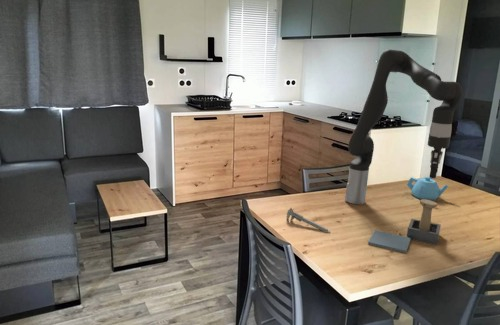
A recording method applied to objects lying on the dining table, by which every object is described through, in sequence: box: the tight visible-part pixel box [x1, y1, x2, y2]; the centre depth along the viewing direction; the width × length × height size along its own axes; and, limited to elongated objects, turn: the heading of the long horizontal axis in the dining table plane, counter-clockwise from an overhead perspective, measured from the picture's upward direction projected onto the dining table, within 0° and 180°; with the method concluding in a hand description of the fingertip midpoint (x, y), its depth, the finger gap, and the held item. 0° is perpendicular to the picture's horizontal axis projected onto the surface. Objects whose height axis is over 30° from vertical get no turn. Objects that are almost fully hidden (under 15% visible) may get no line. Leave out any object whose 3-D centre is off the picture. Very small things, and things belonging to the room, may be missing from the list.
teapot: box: [406, 176, 449, 201], centre depth 214 cm, size 15×15×11 cm
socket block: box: [406, 218, 442, 246], centre depth 166 cm, size 11×11×4 cm
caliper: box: [286, 207, 331, 234], centre depth 171 cm, size 20×1×6 cm, turn 55°
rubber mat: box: [367, 229, 412, 254], centre depth 160 cm, size 14×13×1 cm
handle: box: [419, 199, 438, 231], centre depth 164 cm, size 5×6×15 cm
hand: (433, 175), depth 160 cm, fingers open, 8 cm apart
